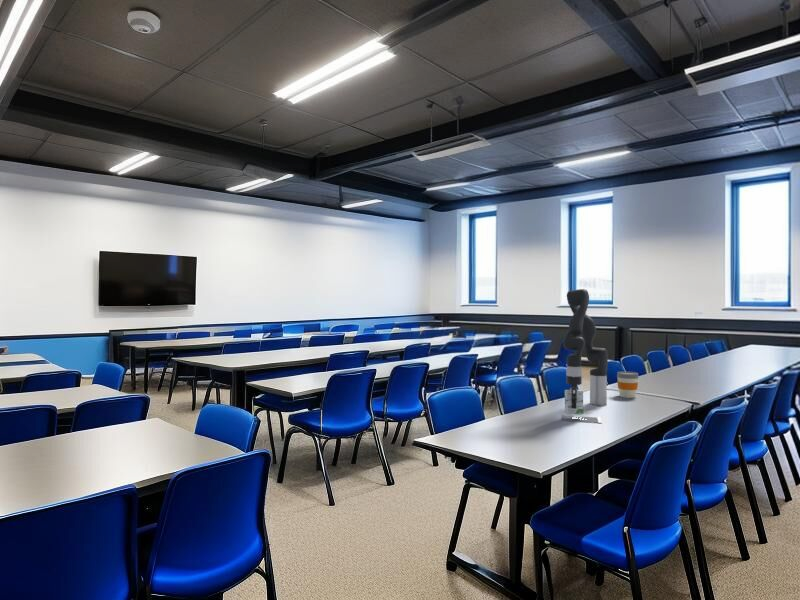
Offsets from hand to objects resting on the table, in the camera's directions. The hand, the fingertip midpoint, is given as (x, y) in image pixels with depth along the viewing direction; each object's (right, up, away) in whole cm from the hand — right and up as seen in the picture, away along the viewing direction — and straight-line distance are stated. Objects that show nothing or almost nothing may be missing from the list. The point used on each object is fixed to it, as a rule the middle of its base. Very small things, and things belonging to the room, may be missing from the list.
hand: (573, 407), depth 263 cm
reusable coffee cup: (+54, -6, +58) cm, 79 cm away
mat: (+3, -6, -1) cm, 7 cm away
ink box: (0, -3, 0) cm, 3 cm away
